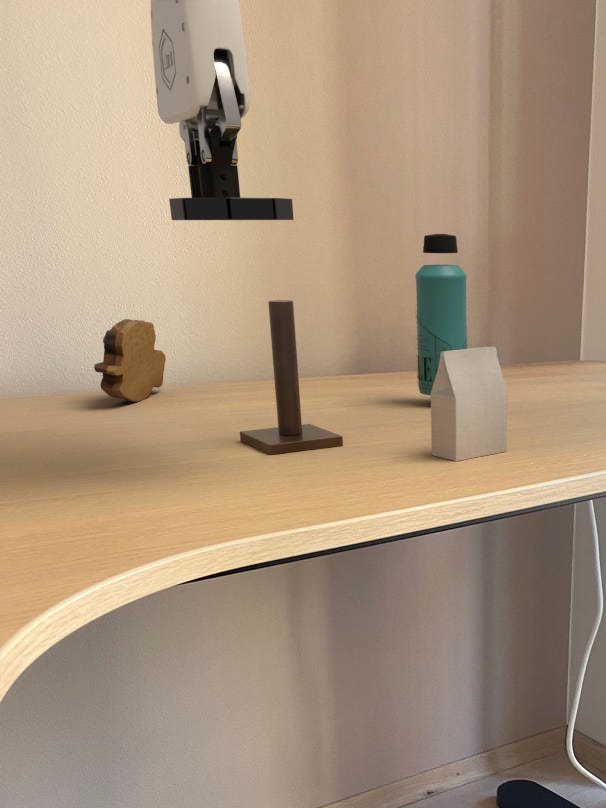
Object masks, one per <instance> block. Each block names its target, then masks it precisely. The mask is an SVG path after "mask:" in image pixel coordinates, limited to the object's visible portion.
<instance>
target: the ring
mask: <svg viewBox="0 0 606 808" xmlns="http://www.w3.org/2000/svg"><path fill="white" fill-rule="evenodd" d="M168 200H169V201H168V202H169V209H170V210H169V211H170V217H171V221H294V205H293V199H292V198H285V197H283V198H282V197H240V198H233V197H230V198H226V197H220V198H192V197H176V198H175V197H174V198H173V197H172V198H169V199H168Z"/></svg>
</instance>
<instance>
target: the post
mask: <svg viewBox="0 0 606 808" xmlns="http://www.w3.org/2000/svg"><path fill="white" fill-rule="evenodd" d="M268 315H269V328H270V342H271V353H272V364H273V378H274V390H275V403H276V404H275V406H276V415H277V416H276V417H277V418H276V419H277V427H268V428H258V429H249V430H241V431H239V438H240V439H239V440H240V442H242V443H244V444H247V445H249V446H251V447H253V448H255V449H257V450H259V451H261V452H263V453H266V454H268V455H270V456H273V455H279V454H287V453H288V454H289V453H294V452H303V451H311V450H319V449H326V448H327V449H328V448H337V447H343V446H344V440H343V439H344V438H343V435H341V434H337V433H335V432H333V431H330V430H327V429H324V428H322V427H319V426H317V425H314V424H312V423H306V424H305V423H303V424H302V408H301V396H300V394H301V393H300V380H299V367H298V366H299V364H298V352H297V351H298V350H297V337H296V336H297V335H296V325H295V324H296V323H295V321H296V320H295V307H294V301H293V300H290V299H275V300H273V299H272V300H269V301H268Z"/></svg>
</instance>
